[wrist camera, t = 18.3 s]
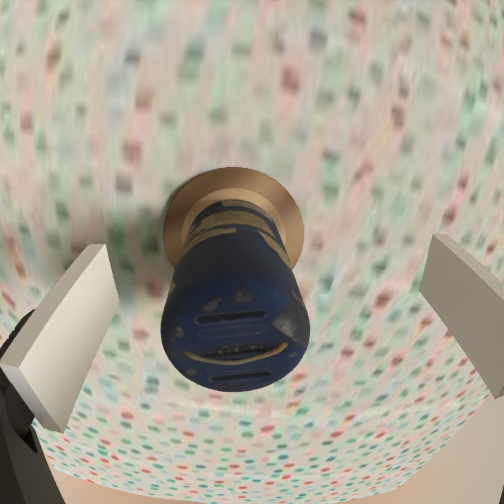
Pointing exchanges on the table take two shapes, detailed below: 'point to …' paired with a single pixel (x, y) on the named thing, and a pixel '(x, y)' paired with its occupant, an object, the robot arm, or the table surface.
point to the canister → (234, 302)
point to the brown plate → (233, 187)
